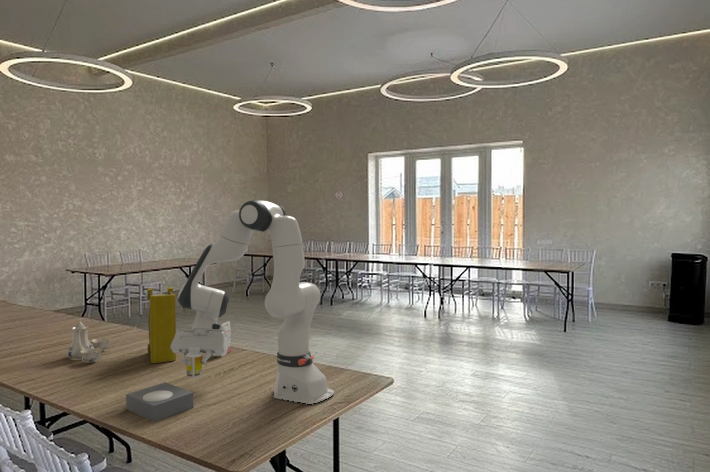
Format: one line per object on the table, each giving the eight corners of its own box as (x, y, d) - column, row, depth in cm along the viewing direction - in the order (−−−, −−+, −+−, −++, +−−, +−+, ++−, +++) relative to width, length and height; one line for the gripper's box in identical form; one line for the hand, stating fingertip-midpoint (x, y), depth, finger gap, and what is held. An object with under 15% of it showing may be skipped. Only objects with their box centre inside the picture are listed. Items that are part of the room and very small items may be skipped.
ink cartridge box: (221, 351, 221) (221, 320, 221) (231, 351, 220) (231, 320, 220) (212, 356, 213) (212, 324, 213) (222, 357, 212) (222, 324, 212)
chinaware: (103, 368, 200) (107, 329, 200) (58, 368, 194) (62, 328, 194) (111, 350, 226) (115, 316, 226) (71, 350, 220) (75, 315, 220)
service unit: (193, 407, 156) (193, 391, 156) (153, 422, 144) (153, 405, 144) (164, 395, 165) (164, 381, 165) (125, 408, 154) (125, 392, 154)
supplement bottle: (203, 372, 176) (203, 345, 176) (200, 377, 171) (200, 350, 170) (188, 373, 176) (188, 346, 175) (184, 378, 170) (184, 350, 170)
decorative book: (176, 361, 205) (176, 292, 204) (149, 364, 200) (148, 294, 199) (172, 349, 223) (172, 286, 222) (147, 352, 218) (146, 287, 217)
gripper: (174, 325, 180) (163, 358, 171) (227, 325, 179) (218, 359, 170) (179, 334, 185) (168, 366, 175) (230, 334, 184) (222, 367, 174)
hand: (193, 362), depth 172 cm, fingers closed on supplement bottle, 6 cm apart
